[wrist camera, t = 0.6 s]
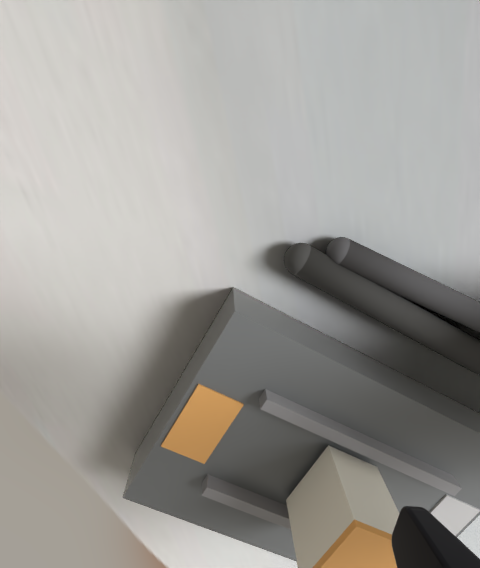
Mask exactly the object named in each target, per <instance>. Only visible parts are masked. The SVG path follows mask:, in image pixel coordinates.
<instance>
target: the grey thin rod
mask: <svg viewBox="0 0 480 568" xmlns="http://www.w3.org/2000/svg"><path fill="white" fill-rule="evenodd" d="M326 255H328V256H329V257H330V258H331V259H332V260H333V261H334V262H335V263H337V264H339V265H340V266H342V267H344V268H346V269H348V270H350V271H352V272H354V273H356V274H358V275H360V276H362V277H364V278H366V279H368V280H370V281H372V282H374V283H376V284H378V285H379V286H381V287H383V288H385V289H387V290H389V291H391V292H393V293H395V294H398V295H400V296H402V297H404V298H406V299H408V300H410V301H413V302H415V303H417V304H419V305H421V306H423V307H426V308H428V309H430V310H432V311H434V312H436V313H438V314H441V315H443V316H445V317H447V318H449V319H451V320H453V321H456V322H458V323H460V324H462V325H464V326H466V327H468V328H471V329H473V330H475V331H477V332H479V333H480V302H478V301H476V300H474V299H472V298H470V297H468V296H466V295H464V294H462V293H460V292H458V291H456V290H453V289H451V288H449V287H447V286H445V285H443V284H441V283H439V282H437V281H435V280H433V279H431V278H429V277H427V276H425V275H422V274H420V273H418V272H416V271H414V270H412V269H410V268H408V267H406V266H404V265H402V264H400V263H398V262H396V261H393V260H391V259H389V258H387V257H385V256H383V255H381V254H379V253H377V252H375V251H373V250H371V249H369V248H367V247H365V246H362V245H360V244H358V243H356V242H354V241H352V240H350V239H348V238H345V237H338V238H335V239H333V240H332V241H331V242H330V243H329V244H328V246H327V249H326Z"/></svg>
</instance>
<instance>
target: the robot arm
mask: <svg viewBox="0 0 480 568" xmlns="http://www.w3.org/2000/svg"><path fill="white" fill-rule="evenodd" d="M392 548H393V553H394V557H395V561H396V565H397V568H480V559H479V558H478V557H477V556H476V555H475V554H474V553H473V552H472V551H471V550H469V549H468V548H467V547H466V546H465V545H464V544H463V543H462V542H461V541H460V540H459V539H458V538H457V537H456V536H455V535H453V534H452V533H451V532H450V531H449V530H448V529H447V528H446V527H445V526H444V525H443V524H442V523H441V522H440V521H438V520H437V519H436V518H435V517H434V516H433V515H432V514H431V513H430V512H429V511H428V510H426V509H425V508H423V507H415V506H404V507H403V508H402V509H401V511H400V513H399V516H398V519H397V522H396V525H395V527H394V530H393V533H392Z"/></svg>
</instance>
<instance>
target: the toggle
mask: <svg viewBox="0 0 480 568" xmlns="http://www.w3.org/2000/svg"><path fill="white" fill-rule="evenodd" d="M286 503H287V508H288V514H289V520H290V525H291V531H292V537H293V542H294V548H295V554H296V559H297V565H298V568H397V565H396V561H395V557H394V553H393V548H392V533H393V530H394V527H395V525H396V522H397V519H398V516H399V512H398V510H397V508H396V505H395V503H394V501H393V499H392V497H391V495H390V493H389V491H388V489H387V487H386V485H385V482H384V480H383V478H382V476H381V474H380V472H379V470H378V468H377V467H376V466H374V465H372V464H369V463H367V462H365V461H363V460H360V459H358V458H356V457H354V456H351V455H349V454H347V453H345V452H342V451H340V450H338V449H336V448H333V447H331V446H329V445H328V447H327V448H326V449H325V450H324V452H323V453H322V454H321V456H320V457H319V458H318V459H317V461H316V462H315V463H314V465H313V466H312V467H311V468H310V470H309V471H308V472H307V474H306V475H305V476H304V477H303V479H302V480H301V481H300V483H299V484H298V485H297V486H296V488H295V489H294V490H293V492H292V493H291V494H290V495H289V497H288V498H287V499H286Z"/></svg>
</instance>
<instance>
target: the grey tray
mask: <svg viewBox="0 0 480 568" xmlns="http://www.w3.org/2000/svg"><path fill="white" fill-rule="evenodd" d="M328 445H329V446H331V447H333V448H336V449H338V450H340V451H342V452H345V453H347V454H349V455H351V456H354V457H356V458H358V459H360V460H363V461H365V462H367V463H369V464H372V465H374V466H376V467H377V468H378V470H379V472H380V474H381V476H382V478H383V480H384V482H385V485H386V487H387V489H388V491H389V493H390V495H391V497H392V499H393V501H394V503H395V505H396V508H397V510H398V512H399V513H400V511H401V509H402V508H403V507H404V506H415V507H423V508H425V509H426V510H428V511H429V512H430V513H431V514H432V515H433V516H434V517H435V518H436V519H437V520H438V521H440V522H441V523H442V524H443V525H444V526H445V527H446V528H447V529H448V530H449V531H450V532H451V533H452V534H453V535H455V536H456V537H458V536H459V535H460V534H461V533H462V532H463V531H464V530H465V529H466V528H467V527H468V526H469V525H470V524H471V523H472V522H473V521H474V520H475V519H476V518H477V517H478V516H479V515H480V413H478V412H476V411H474V410H472V409H470V408H468V407H466V406H464V405H462V404H460V403H458V402H456V401H454V400H452V399H450V398H448V397H446V396H444V395H443V394H441V393H439V392H437V391H435V390H433V389H431V388H429V387H427V386H425V385H423V384H421V383H419V382H417V381H415V380H413V379H411V378H409V377H407V376H405V375H404V374H402V373H400V372H398V371H396V370H394V369H392V368H390V367H388V366H386V365H384V364H382V363H380V362H378V361H376V360H374V359H372V358H370V357H368V356H366V355H365V354H363V353H361V352H359V351H357V350H355V349H353V348H351V347H349V346H347V345H345V344H343V343H341V342H339V341H337V340H335V339H333V338H331V337H329V336H327V335H325V334H324V333H322V332H320V331H318V330H316V329H314V328H312V327H310V326H308V325H306V324H304V323H302V322H300V321H298V320H296V319H294V318H292V317H290V316H288V315H286V314H285V313H283V312H281V311H279V310H277V309H275V308H273V307H271V306H269V305H267V304H265V303H263V302H261V301H259V300H257V299H255V298H253V297H251V296H249V295H247V294H246V293H244V292H242V291H240V290H238V289H236V288H234V287H233V289H232V290H231V292H230V294H229V295H228V297H227V299H226V300H225V302H224V304H223V306H222V307H221V309H220V311H219V312H218V314H217V316H216V317H215V319H214V321H213V323H212V324H211V326H210V328H209V329H208V331H207V333H206V334H205V336H204V338H203V340H202V341H201V343H200V345H199V346H198V348H197V350H196V351H195V353H194V355H193V357H192V358H191V360H190V362H189V363H188V365H187V367H186V368H185V370H184V372H183V374H182V375H181V377H180V379H179V380H178V382H177V384H176V385H175V387H174V389H173V391H172V392H171V394H170V396H169V397H168V399H167V401H166V402H165V404H164V406H163V408H162V409H161V411H160V413H159V414H158V416H157V418H156V419H155V421H154V423H153V425H152V426H151V428H150V430H149V431H148V433H147V435H146V436H145V438H144V440H143V442H142V443H141V445H140V447H139V448H138V450H137V452H136V453H135V456H134V460H133V463H132V467H131V470H130V473H129V477H128V480H127V484H126V487H125V491H124V494H123V498H125V499H127V500H130V501H133V502H136V503H138V504H141V505H144V506H147V507H149V508H152V509H155V510H158V511H160V512H163V513H166V514H169V515H171V516H174V517H177V518H179V519H182V520H185V521H188V522H190V523H193V524H196V525H199V526H201V527H204V528H207V529H210V530H212V531H215V532H218V533H221V534H223V535H226V536H229V537H231V538H234V539H237V540H240V541H242V542H245V543H248V544H251V545H253V546H256V547H259V548H262V549H264V550H267V551H270V552H273V553H275V554H278V555H281V556H284V557H286V558H289V559H292V560H294V561H297V559H296V554H295V548H294V542H293V537H292V531H291V525H290V520H289V514H288V508H287V503H286V499H287V498H288V497H289V495H290V494H291V493H292V492H293V490H294V489H295V488H296V486H297V485H298V484H299V483H300V481H301V480H302V479H303V477H304V476H305V475H306V474H307V472H308V471H309V470H310V468H311V467H312V466H313V465H314V463H315V462H316V461H317V459H318V458H319V457H320V456H321V454H322V453H323V452H324V450H325V449H326V448H327V447H328Z"/></svg>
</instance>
